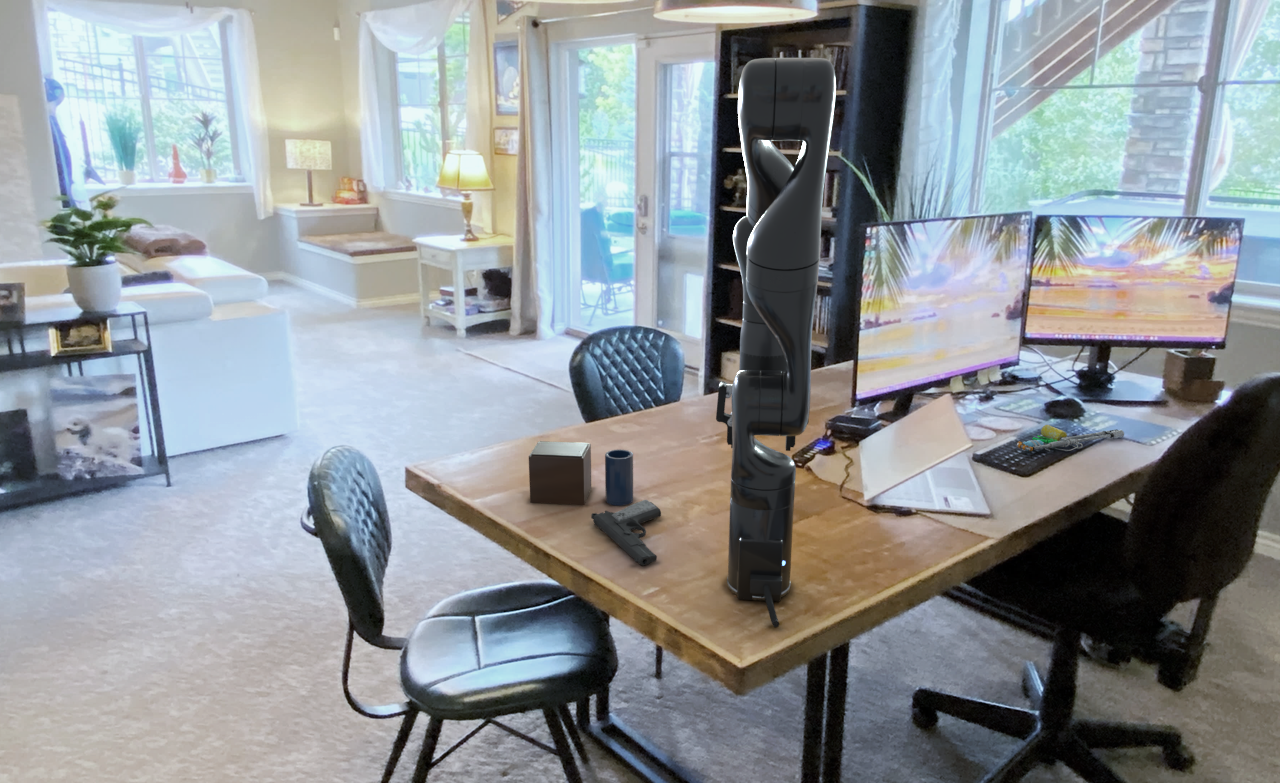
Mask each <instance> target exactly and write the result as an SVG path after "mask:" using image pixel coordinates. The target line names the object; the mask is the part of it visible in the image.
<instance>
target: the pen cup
mask: <svg viewBox="0 0 1280 783" xmlns="http://www.w3.org/2000/svg"><path fill="white" fill-rule="evenodd" d="M604 461H605V462H604V472H605V474H604V477H605V479H604V481H605V484H604V485H605V486H604V487H605V489H604V490H605V502H606V503H607V504H608V505H611V506H617V507H618V506H619V507H622V506H627V505H628V506H629V505H630V504H632V503H633V502H634V453H633V452H632V451H631V450H629V449H621V448H620V449H618V448H617V449H611V450H608V451H607V452H605V455H604Z"/></svg>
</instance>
